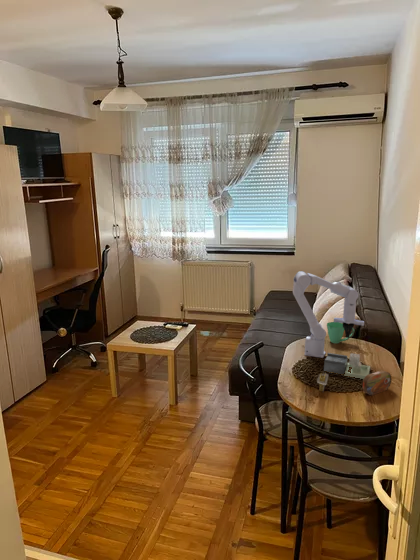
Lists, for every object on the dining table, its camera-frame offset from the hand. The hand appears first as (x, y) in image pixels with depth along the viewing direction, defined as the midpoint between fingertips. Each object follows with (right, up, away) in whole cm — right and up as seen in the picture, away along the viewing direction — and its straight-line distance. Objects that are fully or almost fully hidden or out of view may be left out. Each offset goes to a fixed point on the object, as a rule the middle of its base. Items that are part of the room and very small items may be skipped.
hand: (347, 337), depth 207 cm
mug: (+2, -6, +19) cm, 20 cm away
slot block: (-11, -13, -16) cm, 23 cm away
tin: (-1, -18, -36) cm, 41 cm away
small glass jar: (-22, -18, -33) cm, 44 cm away
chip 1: (-4, -9, -20) cm, 22 cm away
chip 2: (-5, -11, -19) cm, 22 cm away
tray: (-2, -14, -20) cm, 24 cm away
